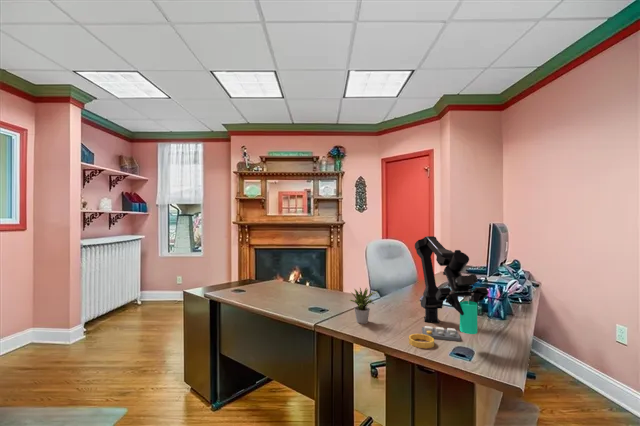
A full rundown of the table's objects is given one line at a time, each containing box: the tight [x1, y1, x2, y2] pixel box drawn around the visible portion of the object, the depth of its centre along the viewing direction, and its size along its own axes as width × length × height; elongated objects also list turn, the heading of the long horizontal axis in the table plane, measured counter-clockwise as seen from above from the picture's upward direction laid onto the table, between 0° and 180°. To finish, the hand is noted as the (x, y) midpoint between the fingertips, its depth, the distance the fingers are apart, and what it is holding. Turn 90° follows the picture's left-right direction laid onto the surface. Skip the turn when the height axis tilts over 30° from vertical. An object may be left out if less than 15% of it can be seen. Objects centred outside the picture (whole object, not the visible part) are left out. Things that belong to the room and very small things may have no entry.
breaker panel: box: [421, 325, 461, 342], centre depth 127 cm, size 9×14×2 cm, turn 74°
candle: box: [459, 298, 478, 335], centre depth 114 cm, size 6×6×12 cm
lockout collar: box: [408, 333, 435, 349], centre depth 119 cm, size 9×9×2 cm
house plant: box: [349, 287, 378, 325], centre depth 143 cm, size 14×14×16 cm
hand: (470, 314), depth 113 cm, fingers closed on candle, 5 cm apart
